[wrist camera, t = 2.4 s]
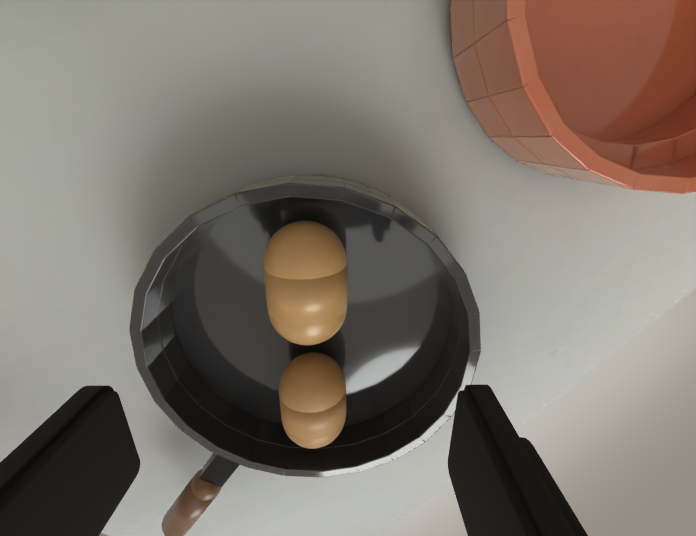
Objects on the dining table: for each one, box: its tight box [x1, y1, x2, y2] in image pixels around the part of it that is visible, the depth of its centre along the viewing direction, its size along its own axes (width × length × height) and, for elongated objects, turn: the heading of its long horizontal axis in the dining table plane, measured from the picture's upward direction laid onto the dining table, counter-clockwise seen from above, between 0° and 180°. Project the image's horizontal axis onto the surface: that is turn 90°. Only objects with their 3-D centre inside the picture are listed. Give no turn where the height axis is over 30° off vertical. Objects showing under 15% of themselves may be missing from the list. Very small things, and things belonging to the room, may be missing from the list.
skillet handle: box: [162, 453, 240, 536], centre depth 22 cm, size 10×2×2 cm, turn 145°
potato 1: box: [263, 221, 348, 345], centre depth 17 cm, size 7×4×4 cm, turn 0°
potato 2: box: [279, 352, 346, 449], centre depth 20 cm, size 6×4×4 cm, turn 0°
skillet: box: [130, 175, 481, 477], centre depth 19 cm, size 18×18×4 cm
